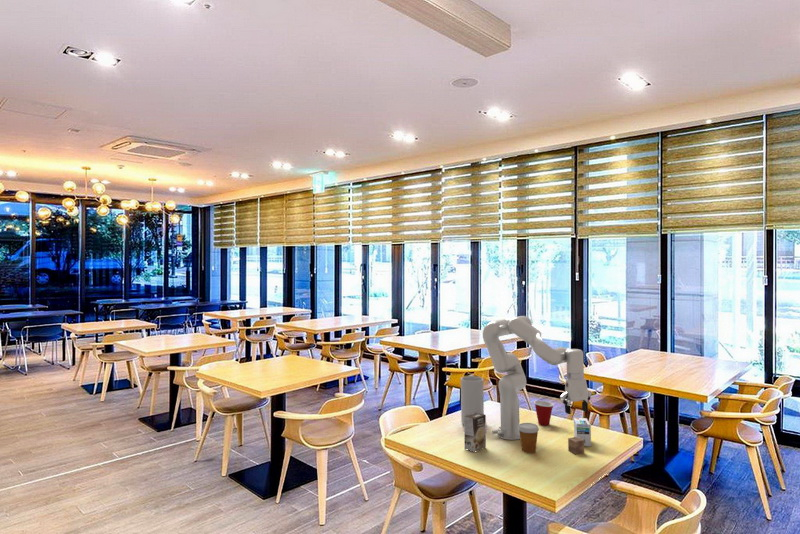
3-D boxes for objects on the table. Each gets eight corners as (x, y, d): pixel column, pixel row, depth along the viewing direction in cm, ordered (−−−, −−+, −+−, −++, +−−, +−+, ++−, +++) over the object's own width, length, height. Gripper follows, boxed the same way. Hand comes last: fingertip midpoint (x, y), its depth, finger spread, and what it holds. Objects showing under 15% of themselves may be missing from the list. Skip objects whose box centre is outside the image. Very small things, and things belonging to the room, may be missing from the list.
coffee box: (474, 452, 232) (474, 418, 232) (464, 449, 237) (463, 416, 237) (486, 447, 239) (486, 414, 239) (475, 444, 243) (475, 411, 243)
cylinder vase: (459, 420, 282) (458, 376, 282) (480, 419, 283) (479, 375, 284) (464, 427, 270) (463, 381, 270) (486, 426, 271) (486, 380, 271)
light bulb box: (591, 446, 238) (591, 424, 238) (576, 446, 240) (576, 423, 240) (587, 439, 249) (587, 417, 249) (573, 438, 250) (573, 417, 250)
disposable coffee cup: (528, 456, 227) (527, 430, 228) (514, 449, 236) (513, 424, 236) (543, 452, 232) (543, 426, 232) (529, 446, 240) (529, 421, 240)
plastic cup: (557, 427, 268) (556, 405, 268) (537, 427, 268) (536, 405, 268) (551, 421, 279) (550, 399, 279) (531, 421, 279) (531, 400, 279)
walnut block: (575, 454, 229) (575, 441, 229) (568, 450, 234) (568, 438, 234) (584, 453, 231) (584, 440, 231) (577, 449, 235) (576, 436, 235)
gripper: (565, 379, 226) (566, 416, 225) (595, 375, 231) (597, 412, 231) (555, 376, 233) (556, 412, 233) (584, 372, 239) (586, 408, 238)
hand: (576, 412), depth 232 cm, fingers open, 9 cm apart
